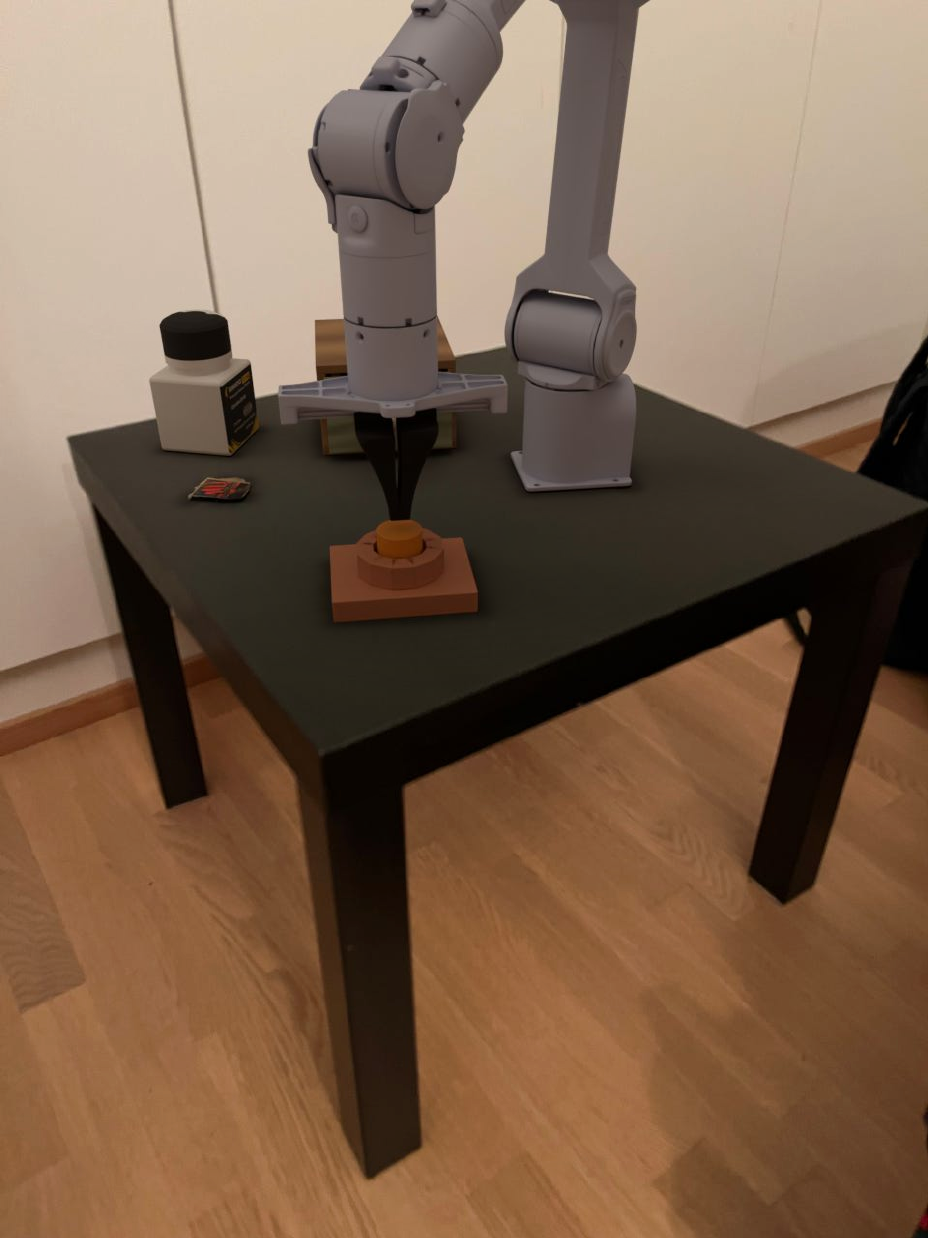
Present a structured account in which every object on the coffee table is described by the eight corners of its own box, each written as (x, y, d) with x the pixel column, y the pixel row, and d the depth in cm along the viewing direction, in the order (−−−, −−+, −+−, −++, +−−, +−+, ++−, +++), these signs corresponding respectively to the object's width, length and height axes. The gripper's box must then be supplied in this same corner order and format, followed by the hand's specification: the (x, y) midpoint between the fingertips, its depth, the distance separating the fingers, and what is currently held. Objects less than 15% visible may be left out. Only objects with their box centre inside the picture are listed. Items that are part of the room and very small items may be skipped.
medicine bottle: (231, 457, 87) (212, 328, 81) (160, 451, 88) (136, 323, 82) (260, 428, 93) (245, 306, 86) (193, 423, 94) (173, 302, 88)
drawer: (459, 467, 83) (459, 393, 79) (330, 474, 82) (324, 400, 78) (436, 396, 98) (435, 331, 94) (327, 401, 97) (321, 336, 93)
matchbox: (248, 501, 79) (247, 496, 79) (186, 504, 79) (185, 499, 78) (252, 478, 83) (252, 473, 83) (194, 480, 83) (193, 475, 82)
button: (420, 538, 68) (419, 516, 67) (424, 560, 65) (424, 538, 64) (376, 541, 67) (374, 519, 66) (378, 563, 65) (377, 541, 64)
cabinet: (456, 448, 89) (456, 359, 84) (323, 455, 88) (315, 365, 83) (438, 395, 101) (437, 314, 96) (321, 400, 100) (314, 319, 95)
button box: (462, 556, 72) (462, 515, 70) (477, 612, 65) (478, 569, 63) (331, 565, 70) (327, 523, 69) (333, 623, 64) (329, 579, 62)
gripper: (267, 339, 53) (292, 549, 60) (519, 328, 54) (512, 534, 62) (271, 305, 59) (293, 500, 66) (498, 297, 60) (495, 488, 68)
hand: (399, 514), depth 64 cm, fingers closed
